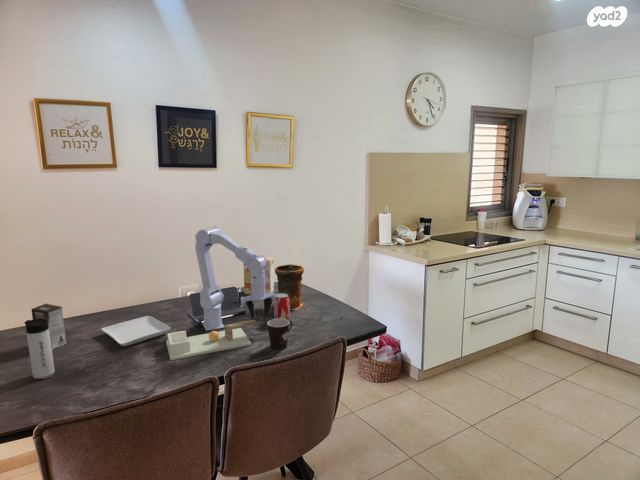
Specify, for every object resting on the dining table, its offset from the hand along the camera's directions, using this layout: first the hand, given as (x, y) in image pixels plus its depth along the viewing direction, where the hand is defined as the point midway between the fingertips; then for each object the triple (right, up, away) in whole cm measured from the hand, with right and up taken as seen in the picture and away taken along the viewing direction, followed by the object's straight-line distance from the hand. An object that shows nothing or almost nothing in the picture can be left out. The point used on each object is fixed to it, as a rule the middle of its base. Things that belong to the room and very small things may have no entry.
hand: (259, 316), depth 174 cm
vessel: (+10, -1, +36) cm, 37 cm away
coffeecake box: (-8, +3, +55) cm, 56 cm away
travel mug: (-69, -15, -31) cm, 77 cm away
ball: (-17, -6, -7) cm, 20 cm away
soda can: (+8, -5, +17) cm, 20 cm away
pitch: (-19, -10, -7) cm, 23 cm away
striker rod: (-6, -7, -1) cm, 9 cm away
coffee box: (-81, -10, -9) cm, 82 cm away
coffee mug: (+10, -10, -9) cm, 17 cm away
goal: (-29, -9, -12) cm, 33 cm away
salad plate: (-52, -8, +2) cm, 53 cm away
